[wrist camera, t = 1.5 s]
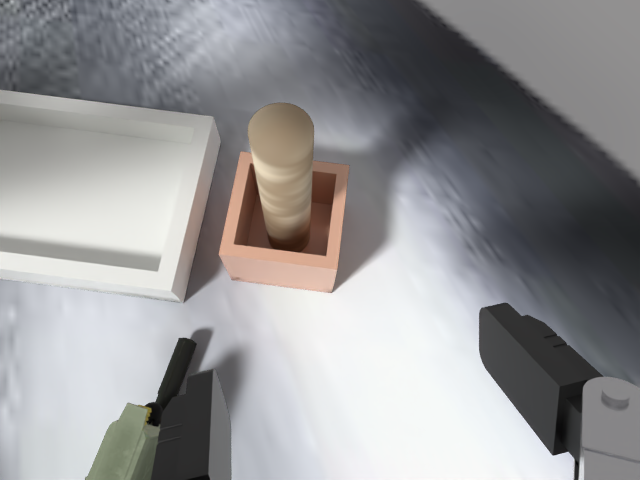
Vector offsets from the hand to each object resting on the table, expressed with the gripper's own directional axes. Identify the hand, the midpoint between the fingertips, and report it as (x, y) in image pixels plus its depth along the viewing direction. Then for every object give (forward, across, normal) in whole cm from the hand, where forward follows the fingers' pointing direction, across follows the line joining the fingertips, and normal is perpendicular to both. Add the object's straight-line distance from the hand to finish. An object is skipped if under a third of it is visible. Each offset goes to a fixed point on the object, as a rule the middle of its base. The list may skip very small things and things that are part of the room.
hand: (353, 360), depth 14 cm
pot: (+22, 0, +6) cm, 23 cm away
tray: (+27, +16, +1) cm, 32 cm away
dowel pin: (+22, 0, +5) cm, 22 cm away
